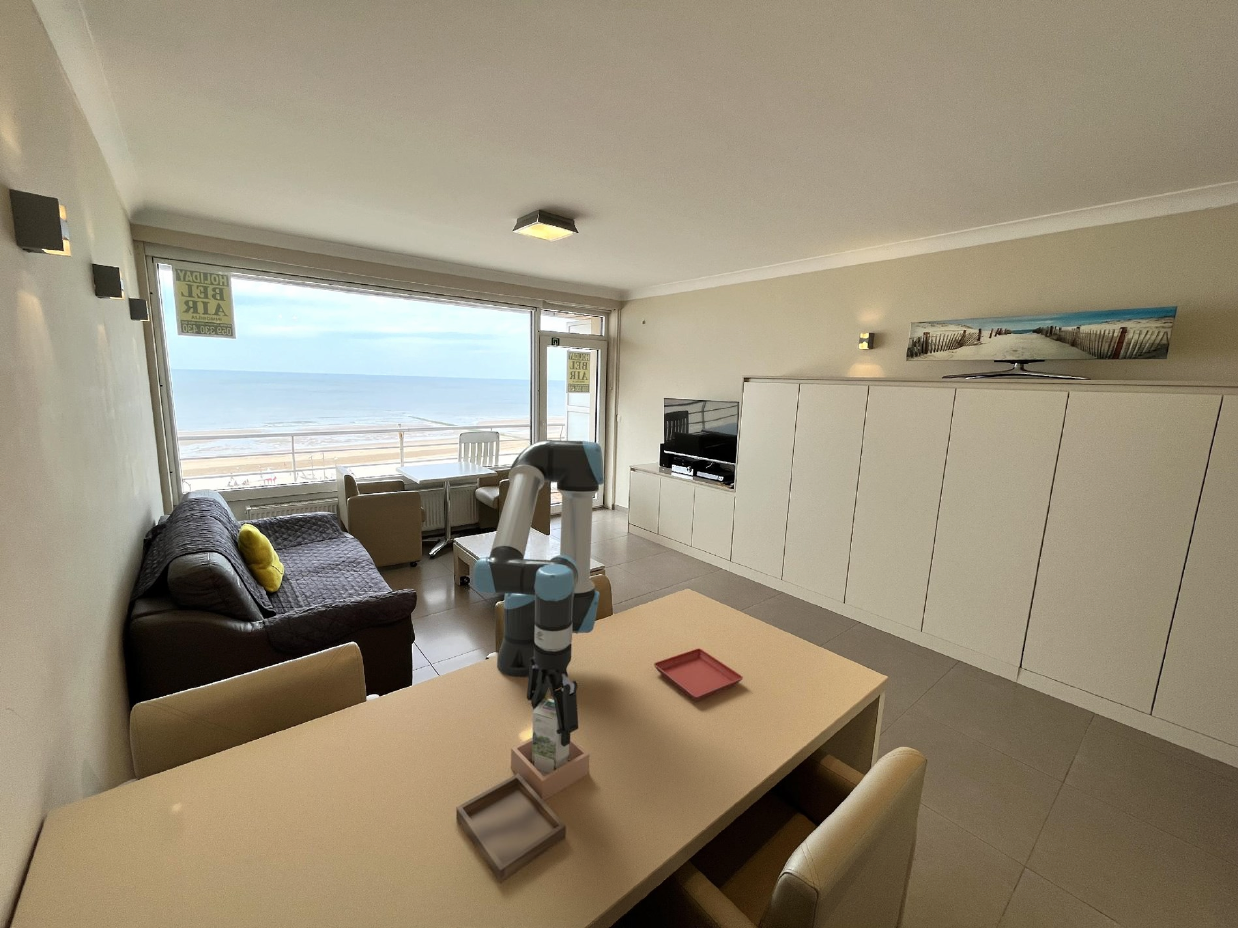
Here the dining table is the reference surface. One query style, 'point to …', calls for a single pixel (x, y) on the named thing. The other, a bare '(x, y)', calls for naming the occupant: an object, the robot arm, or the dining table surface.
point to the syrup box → (545, 738)
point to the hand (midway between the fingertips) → (550, 745)
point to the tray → (510, 826)
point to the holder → (555, 779)
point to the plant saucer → (697, 674)
